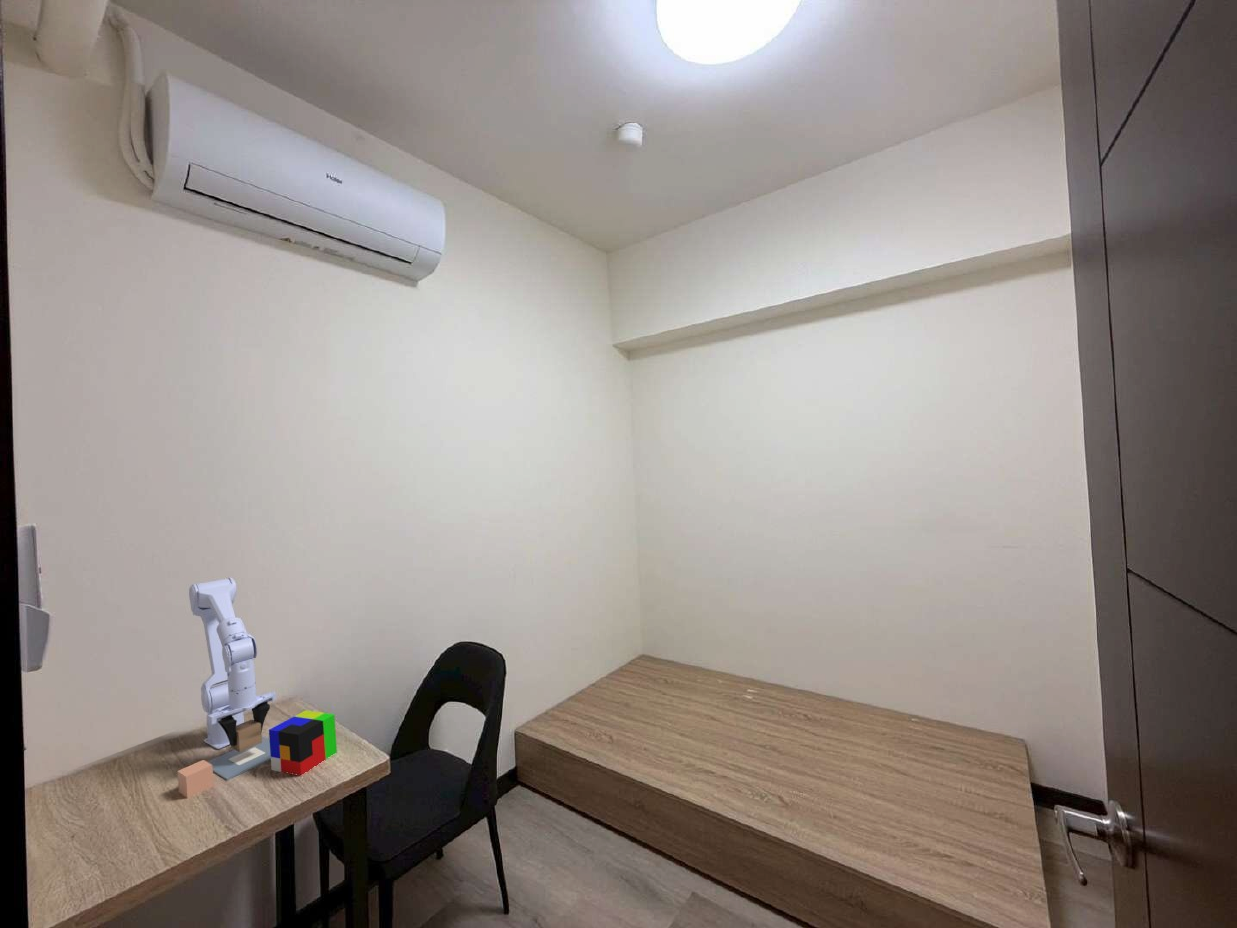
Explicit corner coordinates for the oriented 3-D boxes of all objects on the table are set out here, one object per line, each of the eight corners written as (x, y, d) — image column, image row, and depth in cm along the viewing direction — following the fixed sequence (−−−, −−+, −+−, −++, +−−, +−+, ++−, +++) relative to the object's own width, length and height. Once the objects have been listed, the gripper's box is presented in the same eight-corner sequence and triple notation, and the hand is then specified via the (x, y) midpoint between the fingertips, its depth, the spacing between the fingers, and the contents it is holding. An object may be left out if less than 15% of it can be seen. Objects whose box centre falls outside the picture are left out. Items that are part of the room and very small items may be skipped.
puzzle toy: (271, 770, 127) (268, 729, 127) (308, 748, 136) (305, 710, 136) (301, 776, 123) (298, 734, 123) (337, 752, 133) (334, 714, 133)
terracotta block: (178, 792, 120) (177, 770, 120) (204, 780, 124) (203, 759, 124) (187, 798, 117) (186, 776, 117) (213, 786, 122) (212, 764, 122)
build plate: (202, 765, 131) (202, 763, 131) (264, 738, 143) (264, 736, 143) (227, 780, 123) (227, 778, 123) (290, 750, 135) (289, 748, 135)
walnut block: (230, 747, 132) (229, 728, 132) (252, 738, 136) (251, 719, 136) (239, 752, 129) (238, 732, 129) (262, 742, 134) (260, 723, 134)
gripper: (215, 701, 125) (219, 757, 125) (280, 678, 137) (284, 729, 137) (203, 696, 128) (206, 750, 128) (267, 673, 141) (271, 723, 141)
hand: (245, 739), depth 133 cm, fingers closed on walnut block, 5 cm apart
